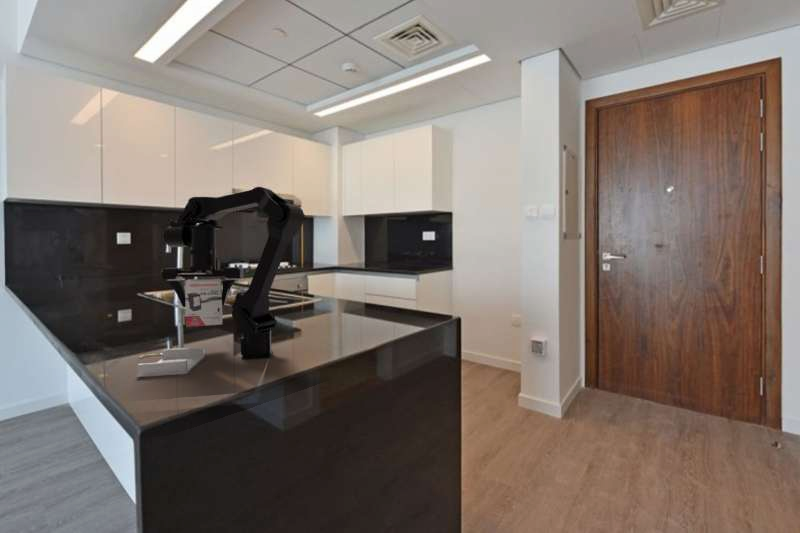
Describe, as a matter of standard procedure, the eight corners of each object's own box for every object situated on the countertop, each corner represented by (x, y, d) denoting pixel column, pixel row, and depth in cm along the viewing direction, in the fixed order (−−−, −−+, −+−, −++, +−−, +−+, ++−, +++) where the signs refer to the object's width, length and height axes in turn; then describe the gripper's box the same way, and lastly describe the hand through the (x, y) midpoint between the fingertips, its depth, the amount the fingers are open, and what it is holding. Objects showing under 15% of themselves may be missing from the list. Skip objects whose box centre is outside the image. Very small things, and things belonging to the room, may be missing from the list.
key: (166, 354, 99) (166, 352, 99) (166, 356, 97) (166, 353, 97) (139, 357, 96) (139, 355, 96) (139, 359, 94) (139, 357, 94)
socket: (204, 357, 96) (204, 347, 96) (186, 373, 82) (185, 362, 82) (163, 359, 94) (163, 349, 94) (137, 377, 80) (137, 364, 80)
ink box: (185, 327, 98) (184, 280, 98) (186, 324, 102) (185, 279, 102) (223, 324, 102) (222, 279, 102) (221, 321, 106) (221, 278, 106)
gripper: (246, 247, 112) (247, 302, 112) (174, 247, 108) (175, 304, 108) (239, 246, 101) (240, 306, 101) (159, 246, 97) (159, 309, 97)
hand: (204, 306), depth 102 cm, fingers closed on ink box, 9 cm apart
